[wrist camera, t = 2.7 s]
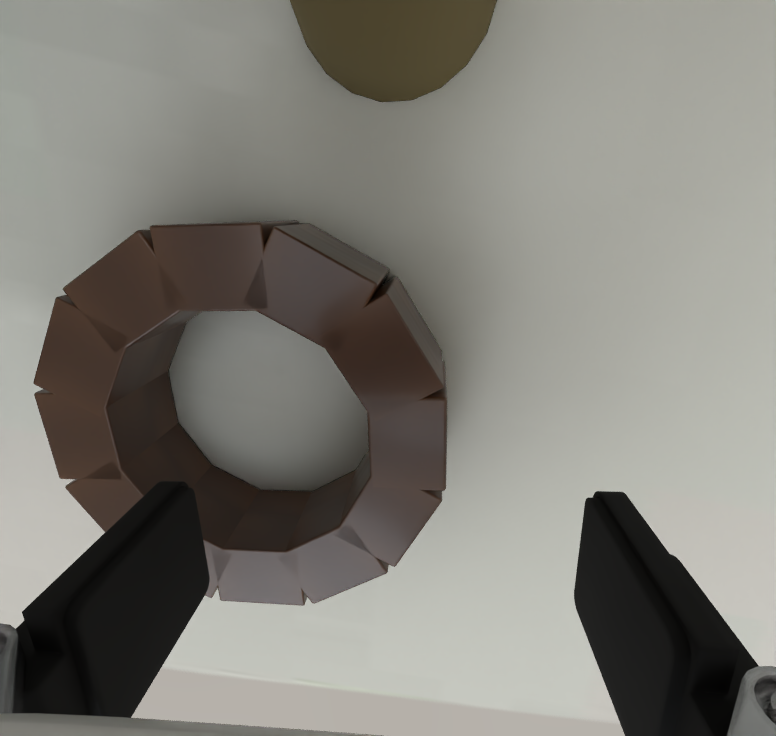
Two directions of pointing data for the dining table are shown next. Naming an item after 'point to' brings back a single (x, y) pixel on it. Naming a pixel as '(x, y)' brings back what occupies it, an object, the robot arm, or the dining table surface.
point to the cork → (393, 42)
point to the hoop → (179, 453)
